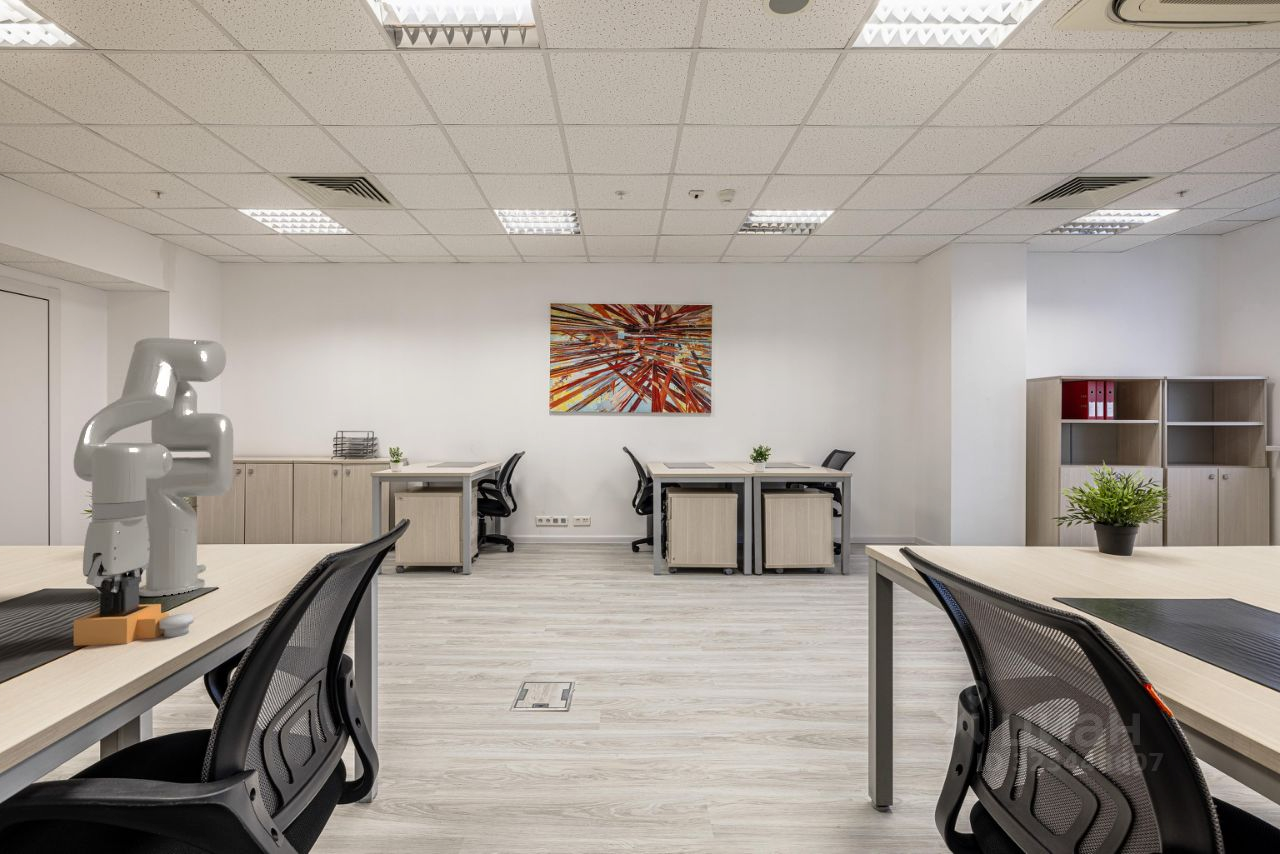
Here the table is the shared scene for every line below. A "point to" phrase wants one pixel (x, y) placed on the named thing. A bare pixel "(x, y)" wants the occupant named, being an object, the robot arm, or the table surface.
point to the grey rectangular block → (127, 596)
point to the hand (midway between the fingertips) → (119, 609)
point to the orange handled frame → (130, 626)
